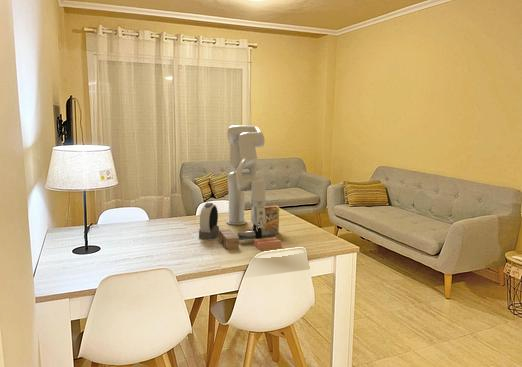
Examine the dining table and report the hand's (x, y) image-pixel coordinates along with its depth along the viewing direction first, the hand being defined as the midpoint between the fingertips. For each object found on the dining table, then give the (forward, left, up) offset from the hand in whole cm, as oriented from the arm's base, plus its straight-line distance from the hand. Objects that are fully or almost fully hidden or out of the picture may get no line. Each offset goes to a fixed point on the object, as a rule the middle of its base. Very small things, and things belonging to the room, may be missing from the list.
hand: (257, 236), depth 211 cm
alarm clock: (-16, -22, -2) cm, 27 cm away
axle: (0, 0, +1) cm, 1 cm away
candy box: (-11, +12, -2) cm, 17 cm away
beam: (+1, -16, -2) cm, 16 cm away
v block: (+10, +2, -2) cm, 10 cm away
